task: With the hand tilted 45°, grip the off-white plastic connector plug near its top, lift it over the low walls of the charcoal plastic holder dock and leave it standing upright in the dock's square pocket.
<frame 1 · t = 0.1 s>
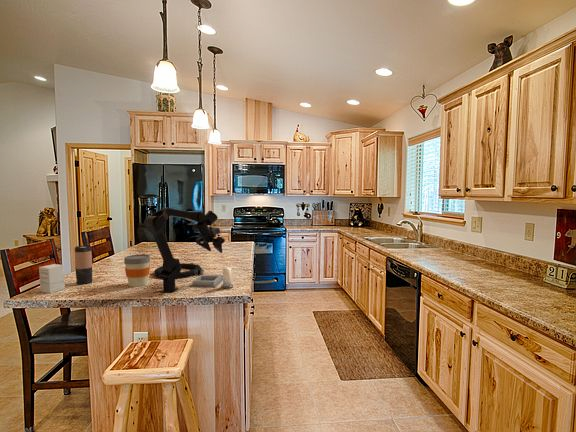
hand: (216, 251, 182), 15 cm above the counter, tool tilted 35°, fingers open, 9 cm apart
connector plug: (227, 287, 163), on the counter
reusable coffee cup: (138, 284, 168), on the counter
travel mug: (84, 283, 170), on the counter
cable lock: (180, 274, 192), on the counter
holder dock: (207, 283, 171), on the counter
supplement box: (52, 291, 157), on the counter
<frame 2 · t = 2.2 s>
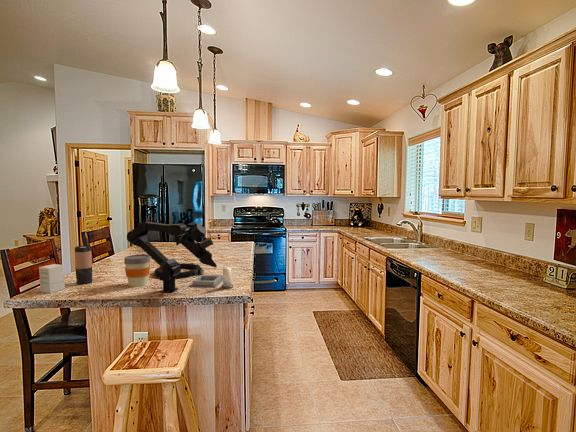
hand: (214, 264, 160), 12 cm above the counter, tool tilted 45°, fingers open, 9 cm apart
nothing on the counter moved.
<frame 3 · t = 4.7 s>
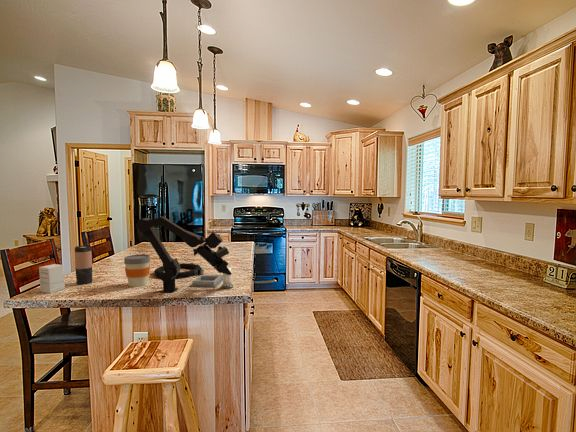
hand: (229, 273, 164), 7 cm above the counter, tool tilted 45°, fingers closed on connector plug, 4 cm apart
connector plug: (227, 287, 163), on the counter, touching gripper
everything else where it was.
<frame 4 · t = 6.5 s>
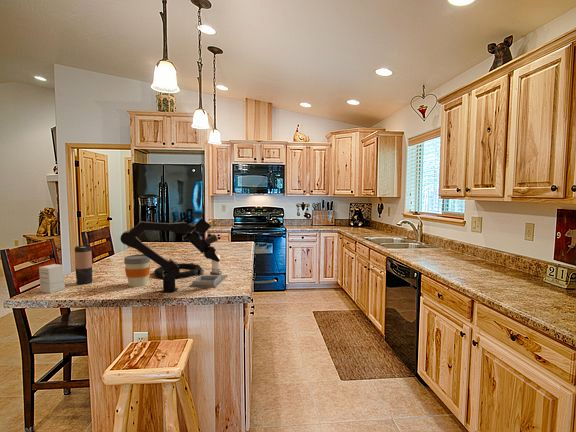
hand: (218, 260, 167), 13 cm above the counter, tool tilted 45°, fingers closed on connector plug, 4 cm apart
connector plug: (215, 273, 166), point 6 cm above the counter, touching gripper
everything else where it was.
when the fingers open (9 cm above the counter, at t = 8.6 s): connector plug stays where it is, resting on holder dock.
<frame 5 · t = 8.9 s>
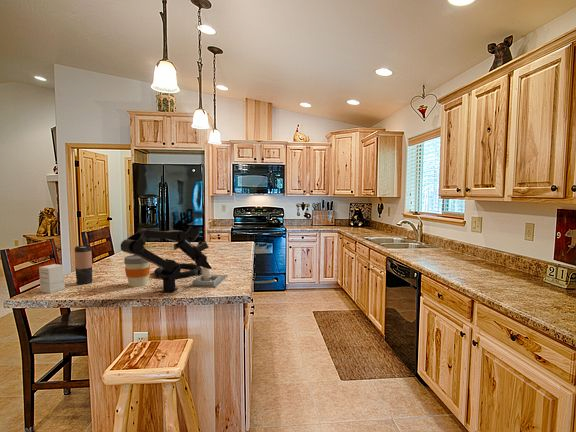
hand: (209, 267, 171), 9 cm above the counter, tool tilted 45°, fingers open, 8 cm apart
connector plug: (207, 282, 171), point 1 cm above the counter, touching holder dock
everything else where it was.
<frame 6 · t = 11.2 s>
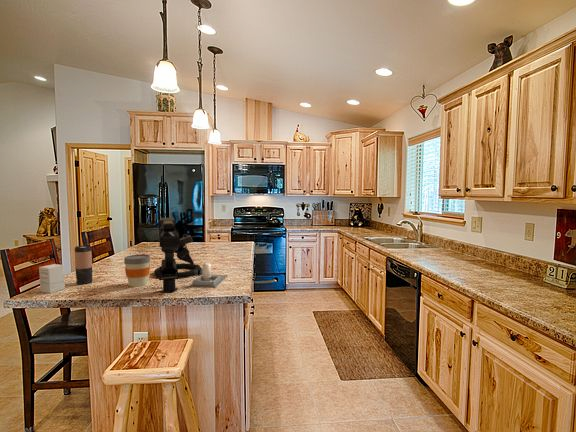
hand: (192, 261, 167), 13 cm above the counter, tool tilted 40°, fingers open, 9 cm apart
nothing on the counter moved.
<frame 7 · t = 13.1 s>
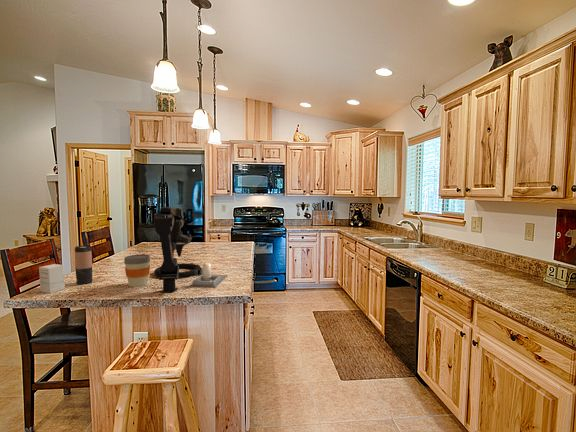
hand: (175, 258, 172), 13 cm above the counter, tool pointing down, fingers open, 9 cm apart
nothing on the counter moved.
at the end: connector plug 0.1 cm off-centre on the holder dock, point 0.6 cm above the holder dock's base; connector plug tilted 0°; the gripper is holding nothing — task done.
